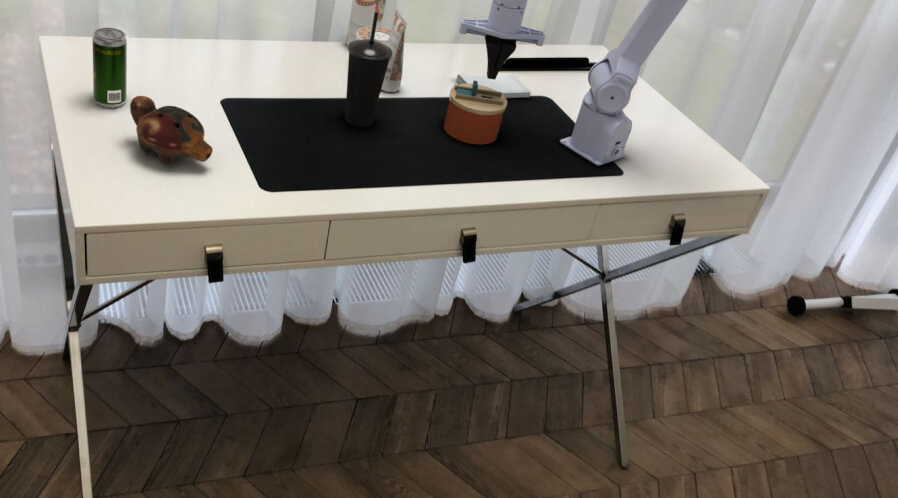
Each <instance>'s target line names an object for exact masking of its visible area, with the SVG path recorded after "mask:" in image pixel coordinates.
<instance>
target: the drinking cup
mask: <svg viewBox="0 0 898 498" xmlns="http://www.w3.org/2000/svg"><path fill="white" fill-rule="evenodd" d="M377 19H378V13H377V12H375V13H374V18H373V24H372V30H371V37H370V39H362V40H355V41H352V42H350V43H349V45H347V51H348V61H347V62H348V64H347V80H346V96H345V114H344V115H345V116H344V120H345V123H347V124H348V125H350V126H353V127H356V128H367V127H370V126H371V125H372V123H373V121H374V117H375V112H376V110H377V106H378V102H379V99H380V95H381V92H382V89H381V88H382V85H383V81H384V78H385V74H386V71H387V67H388V63H389V60H390V58H391V57H392V54H393V52H392V50H391V49H390V48H389V47H388V46H387V45H385V44H383V43H381V42H379V41H376V40H374V37H375V31H376V25H377Z"/></svg>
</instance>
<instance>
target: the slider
mask: <svg viewBox="0 0 898 498" xmlns="http://www.w3.org/2000/svg"><path fill="white" fill-rule="evenodd" d="M477 89H478V82H477V81H473V85H472V89H471V90H465V89H459V88H457V94H463V95H470V96H476V93H477Z"/></svg>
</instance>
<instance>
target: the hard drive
mask: <svg viewBox="0 0 898 498" xmlns="http://www.w3.org/2000/svg"><path fill="white" fill-rule="evenodd" d="M473 81H477V82H478V85H482V86H486V87H489V88H492V89H494V90H496V91H498V92H502V95H503V96H504V97H505V98H506V99H519V98H521V99H522V98H530V96H531V93H532V92H531V90H530V89H529V88H528V87H527V86H526V85H525V84H524V83H523V82H522V81H521V80H520V79H519V78H518V77H517V76H516V75H515V74H514V73H498V74H497V77H496V79H495V80H494V79H488V78H487V73H475V74H474V73H466V74H465V73H462V74H458V73H457V75H456V82H457V83H458V85H459V84H473Z"/></svg>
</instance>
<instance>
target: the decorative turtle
mask: <svg viewBox="0 0 898 498" xmlns="http://www.w3.org/2000/svg"><path fill="white" fill-rule="evenodd" d="M129 111H130V115H131V117H132V120H133V122H134V123H135V125H136V128H135V129H136V136H137V140H138V144H139V148H140V150H141V151H142V152H143V153H145V154H150V153H152V152H155V153H156V155H158V157H159V159H160V160H161V161H162V162H163V163H164V164H167V165H169V164H172V163H173V162H174V161H175V160H176V159H177V157H178V156H181V155H182V156H186V157H188V158H191V159H194V160H196V161H198V162H201V163H204V162H206V161H207V160H209V159H210V158H211V156H212V154H213V151H214V149H213V147H212V145H210V144H209V143H208V142H206V141H205V128H204V126H203V124H202V122H201V121H200V120H199V118H197V117H196V116H195V115H194V114H192V113H191V112H190V111H188V110H185V108H181V107H178V106H176V105H163V106H160V107H158V108H157V106H156V103H155V101H154V100H153V99H152V98H151V97H149V96H145V95H136V96H135V97H133V99H132V100H130V103H129Z"/></svg>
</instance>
